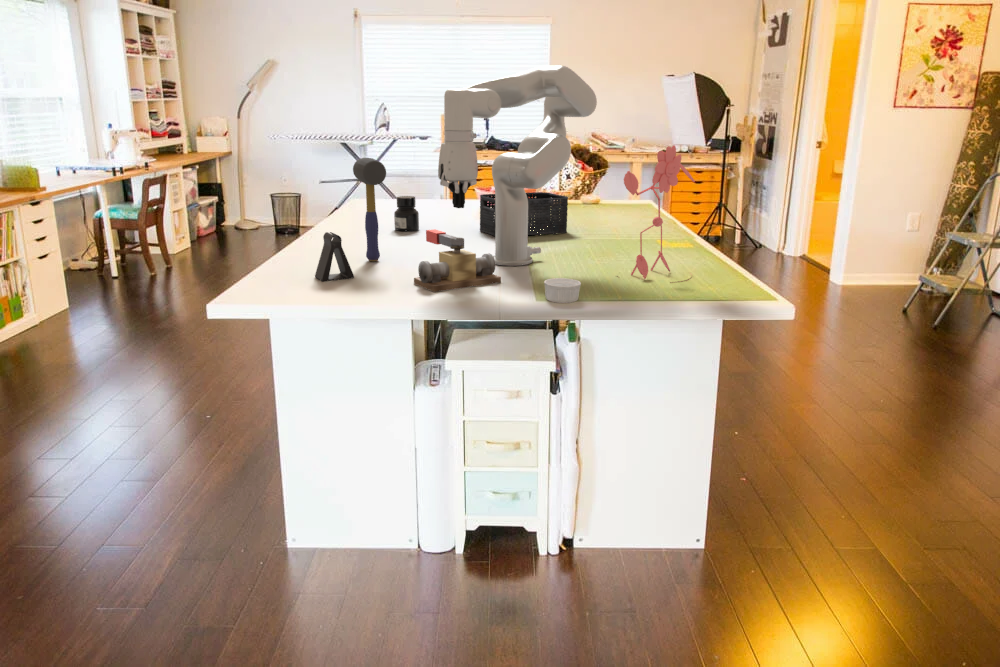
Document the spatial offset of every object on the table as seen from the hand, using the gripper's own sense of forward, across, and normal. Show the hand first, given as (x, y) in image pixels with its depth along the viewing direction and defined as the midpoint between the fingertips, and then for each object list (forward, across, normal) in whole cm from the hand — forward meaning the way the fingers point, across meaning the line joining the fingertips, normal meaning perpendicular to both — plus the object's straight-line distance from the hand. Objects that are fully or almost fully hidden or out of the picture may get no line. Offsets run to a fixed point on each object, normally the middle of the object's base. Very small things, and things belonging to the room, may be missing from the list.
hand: (458, 207), depth 209 cm
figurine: (+18, -45, +33) cm, 59 cm away
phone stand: (+19, +31, -13) cm, 39 cm away
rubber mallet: (+18, +13, -28) cm, 36 cm away
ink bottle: (+18, -21, -74) cm, 79 cm away
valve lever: (+9, +6, +4) cm, 12 cm away
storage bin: (+18, -55, -48) cm, 75 cm away
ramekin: (+18, -7, +38) cm, 43 cm away
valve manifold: (+18, +6, +10) cm, 22 cm away
